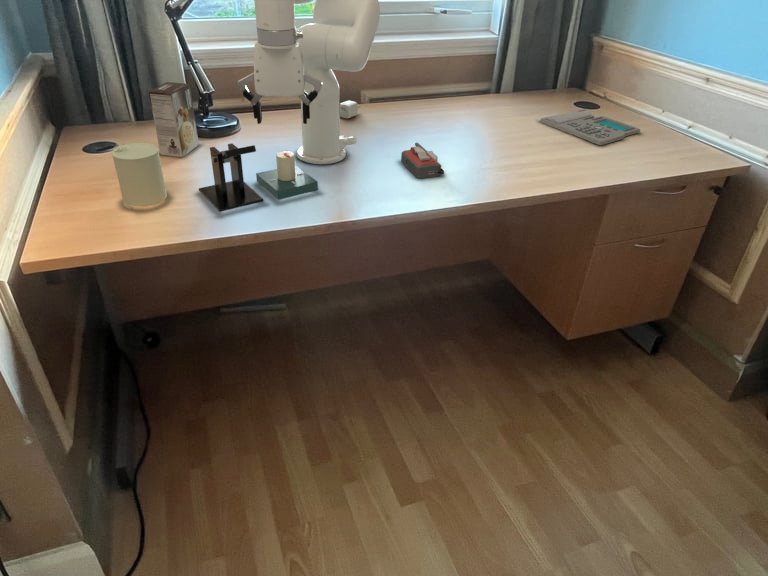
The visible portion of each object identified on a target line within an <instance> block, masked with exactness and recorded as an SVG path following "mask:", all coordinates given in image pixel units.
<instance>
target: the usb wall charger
mask: <svg viewBox="0 0 768 576" xmlns="http://www.w3.org/2000/svg"><path fill="white" fill-rule="evenodd" d="M360 108H361V106H360V105H359V104H358V102H357V101H353V100H350V99H349V100H346V101H343V102H339V110H340V118H343V119H350V118H353V117H356V116H358V114H359V113H358V109H360Z"/></svg>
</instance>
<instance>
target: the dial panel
mask: <svg viewBox="0 0 768 576" xmlns="http://www.w3.org/2000/svg"><path fill="white" fill-rule="evenodd" d="M255 177H256V183H258V184H259V185H260V186H262V188H263V189H264V190H266V191H267V192H268V193H269V194H271V196H273V198H275V199H276V200H278V201H279V200H284V199H287V198H293V197H295V196H301V195H304V194H308V193H312V192H316V191H318V190H319V182H318V180H316V179H315V178H313V177H312V176H310V175H309V174H308V173H307V172H305V171H304V170H302V169H301V168H300V167H299V166H297V165H296V164H295V179H293V180H290V181H282V180H279V179H278V175H277V168H275V169H269V170H266V171H261V172H257V173H255Z"/></svg>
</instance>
